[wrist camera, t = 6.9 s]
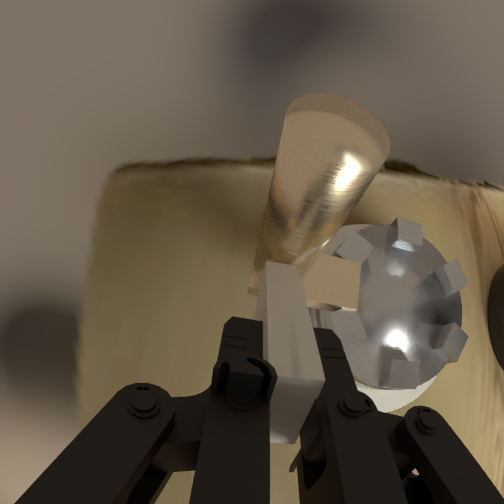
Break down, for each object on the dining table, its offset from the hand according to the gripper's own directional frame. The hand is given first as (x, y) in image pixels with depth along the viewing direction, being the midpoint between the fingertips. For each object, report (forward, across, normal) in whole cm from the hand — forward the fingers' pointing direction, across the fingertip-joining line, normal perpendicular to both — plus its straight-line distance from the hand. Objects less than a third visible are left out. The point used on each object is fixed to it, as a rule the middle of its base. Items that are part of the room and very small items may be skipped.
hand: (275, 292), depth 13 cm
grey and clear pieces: (+8, +8, -4) cm, 12 cm away
